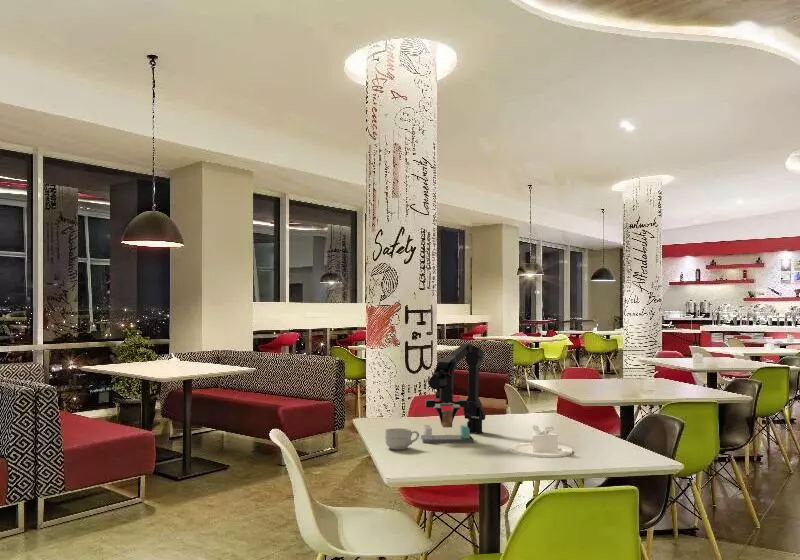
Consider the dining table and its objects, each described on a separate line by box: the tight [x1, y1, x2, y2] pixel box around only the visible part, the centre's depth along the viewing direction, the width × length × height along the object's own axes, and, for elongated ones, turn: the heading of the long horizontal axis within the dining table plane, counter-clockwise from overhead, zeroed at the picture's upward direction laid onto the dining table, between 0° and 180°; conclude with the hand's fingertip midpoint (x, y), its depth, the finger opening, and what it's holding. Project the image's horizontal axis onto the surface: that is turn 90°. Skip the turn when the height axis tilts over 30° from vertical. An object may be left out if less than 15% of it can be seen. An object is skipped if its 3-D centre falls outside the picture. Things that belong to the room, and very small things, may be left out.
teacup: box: [385, 427, 420, 451], centre depth 266 cm, size 14×11×8 cm
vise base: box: [420, 424, 475, 444], centre depth 284 cm, size 22×10×6 cm, turn 93°
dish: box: [509, 424, 573, 458], centre depth 264 cm, size 25×25×11 cm
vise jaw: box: [459, 424, 471, 438], centre depth 285 cm, size 2×10×4 cm, turn 3°
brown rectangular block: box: [440, 410, 453, 428], centre depth 285 cm, size 4×8×6 cm, turn 3°
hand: (446, 423), depth 284 cm, fingers closed on brown rectangular block, 4 cm apart
